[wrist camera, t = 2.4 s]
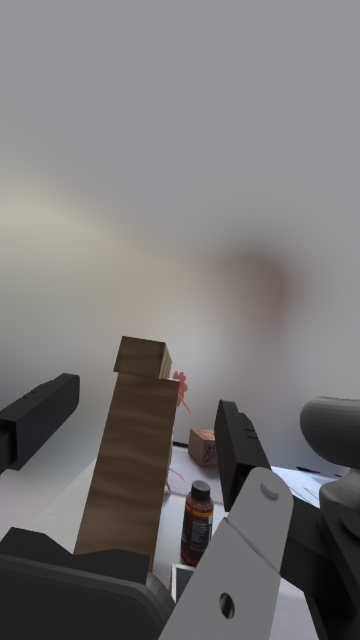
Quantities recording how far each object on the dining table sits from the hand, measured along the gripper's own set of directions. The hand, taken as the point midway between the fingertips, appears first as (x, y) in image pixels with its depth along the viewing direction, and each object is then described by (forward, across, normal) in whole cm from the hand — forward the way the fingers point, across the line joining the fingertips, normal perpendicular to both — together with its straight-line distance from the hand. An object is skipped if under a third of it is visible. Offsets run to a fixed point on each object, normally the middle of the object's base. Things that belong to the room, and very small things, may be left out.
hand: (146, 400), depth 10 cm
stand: (+8, +3, +40) cm, 41 cm away
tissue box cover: (+61, -26, +71) cm, 97 cm away
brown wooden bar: (+20, +3, +10) cm, 23 cm away
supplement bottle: (+17, -10, +46) cm, 50 cm away
